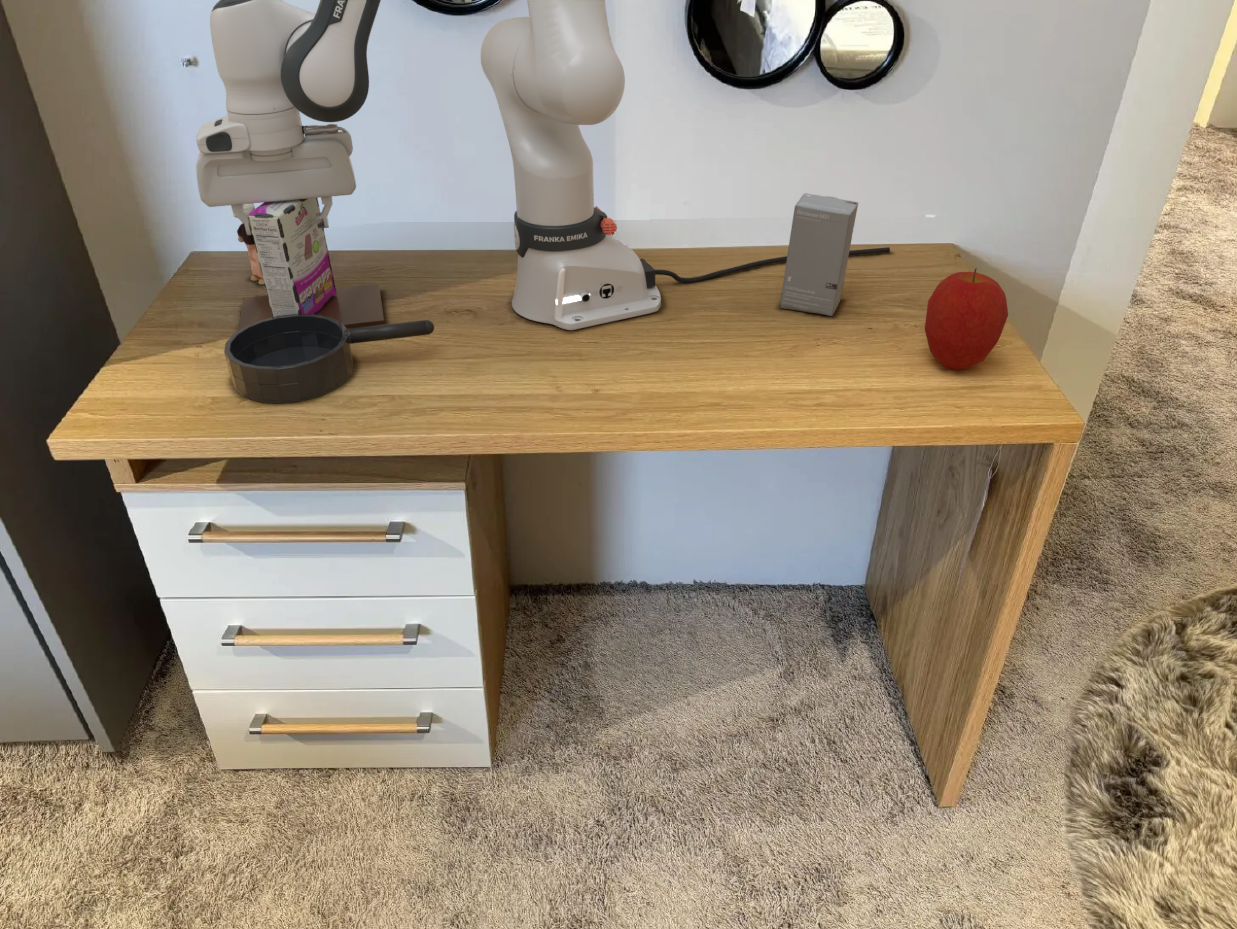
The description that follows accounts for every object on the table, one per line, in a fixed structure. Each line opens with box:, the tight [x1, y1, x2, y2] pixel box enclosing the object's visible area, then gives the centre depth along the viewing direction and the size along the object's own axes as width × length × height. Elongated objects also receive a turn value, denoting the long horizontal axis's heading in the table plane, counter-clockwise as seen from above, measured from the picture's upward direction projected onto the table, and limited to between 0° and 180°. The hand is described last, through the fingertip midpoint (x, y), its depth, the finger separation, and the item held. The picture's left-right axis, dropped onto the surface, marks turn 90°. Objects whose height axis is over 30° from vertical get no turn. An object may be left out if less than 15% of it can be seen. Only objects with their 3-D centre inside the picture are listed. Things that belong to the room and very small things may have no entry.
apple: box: [924, 267, 1009, 371], centre depth 125 cm, size 10×10×14 cm
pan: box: [223, 314, 354, 404], centre depth 126 cm, size 15×15×5 cm
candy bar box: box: [247, 198, 337, 317], centre depth 135 cm, size 11×5×16 cm, turn 169°
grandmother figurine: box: [232, 203, 265, 286], centre depth 149 cm, size 8×4×13 cm, turn 57°
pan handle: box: [343, 319, 435, 345], centre depth 128 cm, size 12×2×2 cm, turn 105°
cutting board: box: [238, 283, 385, 331], centre depth 141 cm, size 20×13×2 cm, turn 105°
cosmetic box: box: [779, 192, 859, 317], centre depth 140 cm, size 8×7×16 cm
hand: (288, 230), depth 133 cm, fingers open, 8 cm apart
